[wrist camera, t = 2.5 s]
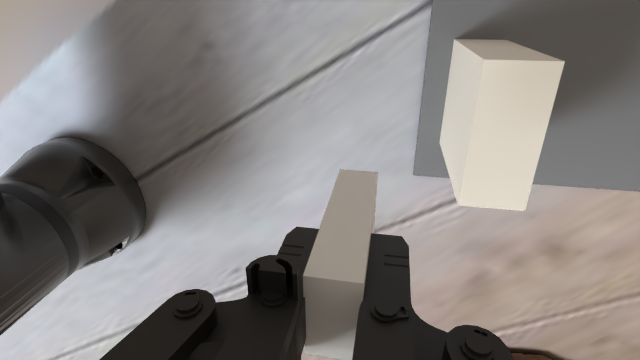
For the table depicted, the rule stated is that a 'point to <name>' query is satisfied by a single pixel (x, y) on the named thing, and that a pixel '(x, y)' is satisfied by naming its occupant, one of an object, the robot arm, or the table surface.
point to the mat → (573, 90)
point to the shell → (529, 357)
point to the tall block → (496, 120)
